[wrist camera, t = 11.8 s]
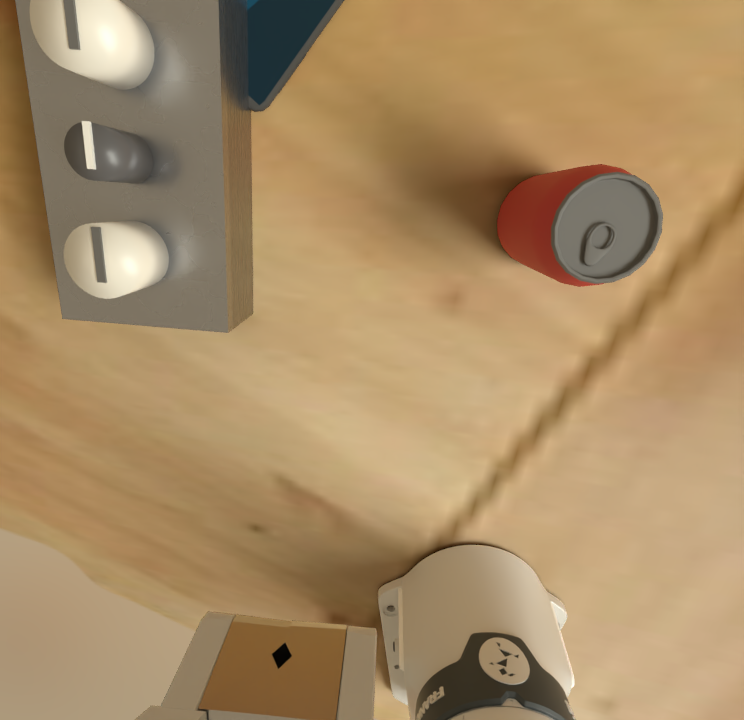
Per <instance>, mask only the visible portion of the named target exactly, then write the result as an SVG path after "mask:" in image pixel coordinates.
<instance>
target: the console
mask: <svg viewBox="0 0 744 720" xmlns="http://www.w3.org/2000/svg"><path fill="white" fill-rule="evenodd" d="M120 1H121V2H122V3H124V4H125V5H127V6H128V7H129V8H131V9H132V10H133V11H135V12H136V13H137V14H138V15H139V16H140V17H141V18H142V19H143V21H144V22H145V24H146V25H147V27H148V29H149V31H150V33H151V36H152V39H153V43H154V63H153V67H152V70H151V72H150V74H149V76H148V77H147V79H146V80H145V81H144V82H143V83H142V84H140V85H139V86H137V87H135V88H132V89H127V90H120V89H115V88H112V87H109V86H107V85H104V84H102V83H99V82H97V81H94V80H92V79H90V78H87V77H85V76H82V75H80V74H77V73H75V72H72V71H70V70H67V69H65V68H63V67H61V66H59V65H58V64H56V63H55V62H54V61H52V60H51V59H50V58H49V57H48V56H47V55H46V54H45V52H44V51H43V50H42V48H41V47H40V45H39V44H38V42H37V40H36V38H35V35H34V33H33V30H32V26H31V21H30V0H15V2H16V9H17V16H18V22H19V29H20V36H21V43H22V49H23V56H24V63H25V69H26V76H27V83H28V90H29V96H30V103H31V110H32V117H33V123H34V130H35V137H36V144H37V150H38V157H39V164H40V171H41V177H42V184H43V191H44V198H45V204H46V211H47V218H48V224H49V231H50V238H51V245H52V251H53V258H54V265H55V272H56V278H57V285H58V292H59V299H60V305H61V312H62V319H70V320H82V321H94V322H106V323H118V324H130V325H142V326H154V327H166V328H178V329H190V330H202V331H214V332H226V333H229V332H230V331H231V330H232V329H234V328H235V327H236V326H238V325H239V324H240V323H242V322H243V321H244V320H245V319H247V318H248V317H249V316H251V315H252V314H253V267H252V179H251V109H250V108H249V100H248V30H247V0H120ZM82 121H89V122H92V123H96V124H99V125H103V126H107V127H111V128H115V129H118V130H122V131H126V132H130V133H133V134H136V135H138V136H139V137H141V138H142V139H143V140H144V141H145V142H146V143H147V144H148V146H149V148H150V150H151V152H152V156H153V168H152V171H151V174H150V175H149V177H148V178H147V179H146V180H144V181H143V182H140V183H136V184H132V183H118V182H105V181H93V180H88V179H86V178H83V177H82V176H80V175H79V174H77V173H76V172H75V171H74V170H73V168H72V167H71V166H70V164H69V162H68V161H67V158H66V155H65V151H64V140H65V136H66V134H67V132H68V131H69V129H70V128H71V127H72V126H73V125H75V124H77V123H80V122H82ZM117 221H138V222H142V223H144V224H147V225H148V226H150V227H151V228H153V229H154V230H155V231H156V232H157V233H158V234H159V235H160V236H161V238H162V239H163V241H164V243H165V244H166V247H167V250H168V255H169V264H168V269H167V272H166V274H165V275H164V277H163V278H162V279H161V280H160V281H159V282H158V283H156V284H155V285H152V286H150V287H147V288H144V289H141V290H138V291H135V292H132V293H129V294H126V295H123V296H120V297H117V298H112V299H104V298H98V297H95V296H93V295H90V294H88V293H87V292H85V291H84V290H82V289H81V288H80V287H79V286H78V285H77V284H76V283H75V282H74V281H73V279H72V278H71V276H70V275H69V273H68V271H67V268H66V265H65V261H64V246H65V243H66V240H67V238H68V236H69V235H70V234H71V232H72V231H73V230H75V229H76V228H77V227H79V226H81V225H84V224H89V223H102V222H117Z"/></svg>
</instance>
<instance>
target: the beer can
mask: <svg viewBox="0 0 744 720" xmlns="http://www.w3.org/2000/svg"><path fill="white" fill-rule="evenodd" d="M662 221H663V213H662V209H661V205H660V201H659V198H658V197H657V195H656V194H655V192H654V191H653V190H652V188H651V187H650V185H649V184H647V183H646V182H644V181H643V180H641V179H640V178H638V177H637V176H635V175H632V174H630V173H629V172H627V171H625V170H623V169H621V168H617V167H612V166H608V165H603V164H599V165H591V166H583V167H578V168H573V169H568V170H562V171H557V172H552V173H547V174H542V175H537V176H533V177H531V178H529V179H527V180H525V181H523V182H520V183H519V184H518V185H517V186H516V187H515V188H514V189H513V190H512V191H510V192H509V194H508V195H507V197H506V198H505V200H504V202H503V203H502V205H501V208H500V211H499V215H498V219H497V232H498V237H499V239H500V242H501V245H502V247H503V248H504V250H505V251H506V252H507V253H508V254H509V256H510V257H511V258H513V259H515V260H516V261H518V262H520V263H521V264H523V265H526V266H528V267H530V268H532V269H534V270H536V271H538V272H540V273H542V274H544V275H546V276H548V277H550V278H553V279H555V280H557V281H559V282H561V283H564V284H569V285H574V286H579V287H580V286H590V285H599V284H604V283H610V282H615V281H617V280H620V279H622V278H624V277H627V276H629V275H631V274H632V273H633V272H634V271H636V270H637V269H638V268H640V267H641V266H642V265H643V264H644V263H645V262H646V261H647V259H648V258H649V257H650V255H651V254H652V253H653V251H654V250H655V248H656V245H657V243H658V240H659V238H660V235H661V233H662Z"/></svg>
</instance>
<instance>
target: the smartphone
mask: <svg viewBox="0 0 744 720" xmlns="http://www.w3.org/2000/svg"><path fill="white" fill-rule="evenodd" d="M343 1H344V0H247V30H248V100H249V108H250V109H251V110H253V111H255V112H257V111H264V110H265V109H266V108H267V107H269V106H270V104H271V103H272V101H273V100H274V98H275V97H276V96H277V94H278V93H279V92H280V91H281V90H282V88H283V87H284V85H285V84H286V83H287V81H288V80H289V78H290V77H291V75H292V74H293V73H294V71H295V70H296V68H297V67H298V66H299V64H300V63H301V61H302V60H303V59H304V57H305V56H306V53H307V52H308V51H309V49H310V48H311V46H312V45H313V44H314V42H315V41H316V39H317V38H318V36H319V35H320V34H321V32H322V31H323V29H324V28H325V27H326V25H327V24H328V22H329V21H330V20H331V18H332V17H333V15H334V14H335V13H336V11H337V10H338V8H339V7H340V5H341V4H342V3H343Z"/></svg>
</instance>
